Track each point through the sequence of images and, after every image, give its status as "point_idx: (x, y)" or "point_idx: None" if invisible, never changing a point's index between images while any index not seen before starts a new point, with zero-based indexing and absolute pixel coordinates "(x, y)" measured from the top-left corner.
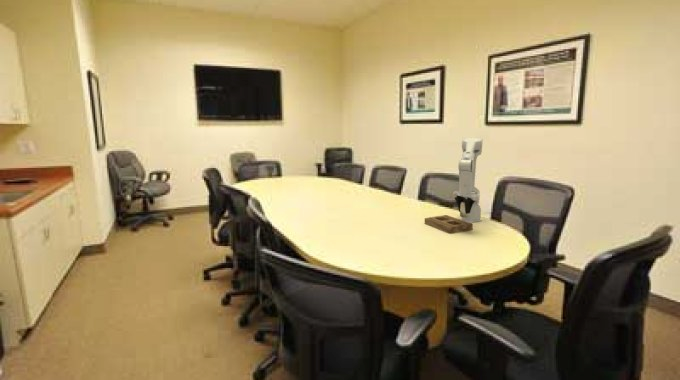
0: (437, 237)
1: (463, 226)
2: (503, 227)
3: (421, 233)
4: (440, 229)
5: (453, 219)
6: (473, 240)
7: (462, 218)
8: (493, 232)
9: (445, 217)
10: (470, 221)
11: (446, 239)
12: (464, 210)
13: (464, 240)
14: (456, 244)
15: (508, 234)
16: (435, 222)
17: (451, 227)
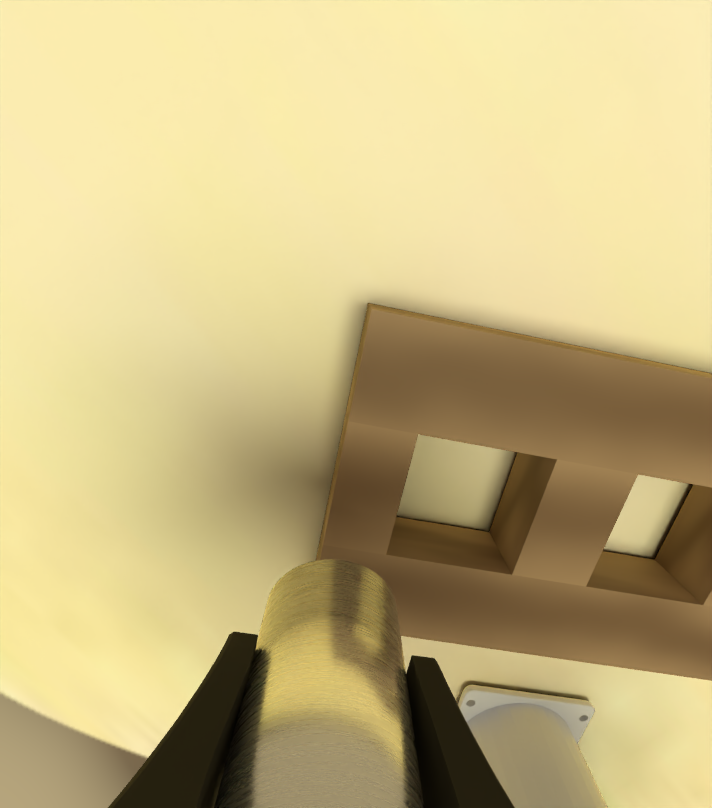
0: (372, 56)
1: (330, 504)
2: None
3: (629, 20)
4: (528, 336)
5: (555, 607)
6: (62, 316)
7: (550, 725)
8: (162, 636)
9: (671, 608)
10: (469, 722)
11: (246, 85)
12: (266, 679)
13: (107, 237)
14: (27, 8)
15: (60, 671)
16: (662, 368)
17: (365, 335)
